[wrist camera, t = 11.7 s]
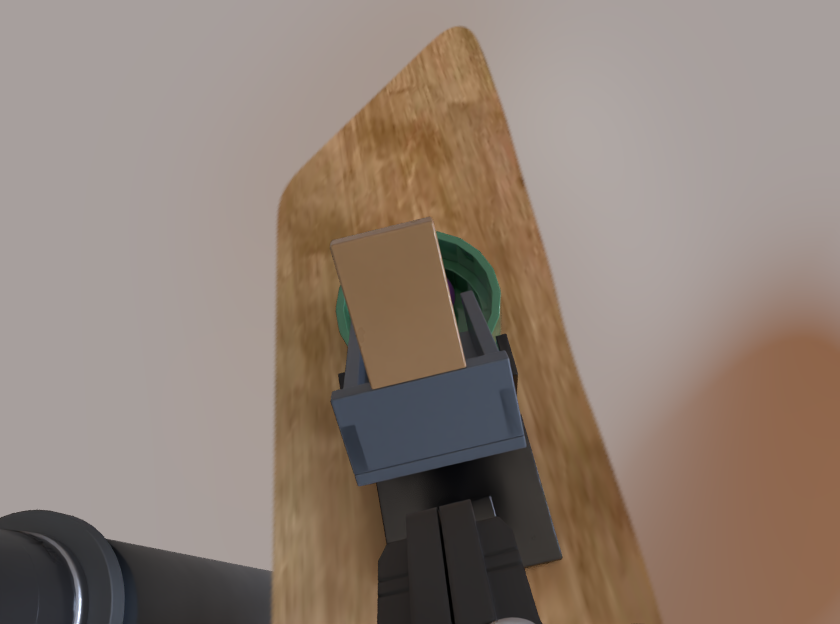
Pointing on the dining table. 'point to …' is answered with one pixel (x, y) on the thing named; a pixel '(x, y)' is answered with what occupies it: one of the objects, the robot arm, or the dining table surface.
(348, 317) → the bowl
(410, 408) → the chute
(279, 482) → the dining table surface
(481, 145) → the dining table surface
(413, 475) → the stand
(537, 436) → the dining table surface
